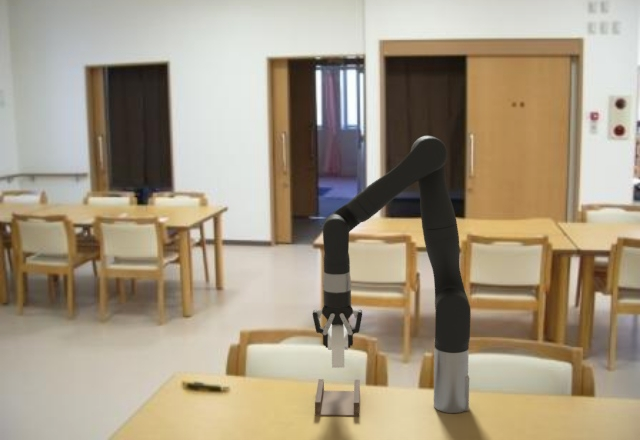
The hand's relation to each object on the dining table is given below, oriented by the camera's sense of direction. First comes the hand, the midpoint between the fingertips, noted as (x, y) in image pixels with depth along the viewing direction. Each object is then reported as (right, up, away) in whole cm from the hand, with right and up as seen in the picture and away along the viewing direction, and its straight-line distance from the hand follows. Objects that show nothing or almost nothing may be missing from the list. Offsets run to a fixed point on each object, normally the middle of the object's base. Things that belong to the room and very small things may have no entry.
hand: (338, 346), depth 200 cm
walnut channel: (0, -17, +4) cm, 17 cm away
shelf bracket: (0, -3, +2) cm, 4 cm away
